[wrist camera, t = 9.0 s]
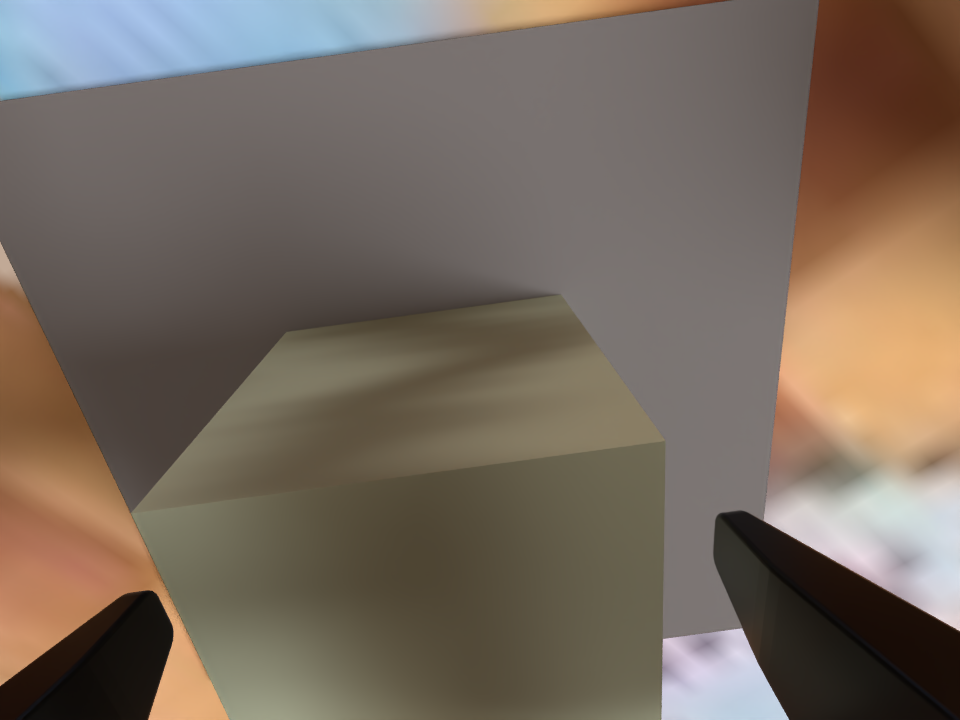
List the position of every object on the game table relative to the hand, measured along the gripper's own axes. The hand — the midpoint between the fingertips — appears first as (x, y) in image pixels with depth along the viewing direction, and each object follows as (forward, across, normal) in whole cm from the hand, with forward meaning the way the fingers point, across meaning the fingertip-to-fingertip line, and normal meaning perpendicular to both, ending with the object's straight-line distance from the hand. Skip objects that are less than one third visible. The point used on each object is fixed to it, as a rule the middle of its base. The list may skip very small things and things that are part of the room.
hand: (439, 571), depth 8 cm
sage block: (+4, 0, 0) cm, 5 cm away
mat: (+5, 0, 0) cm, 5 cm away
